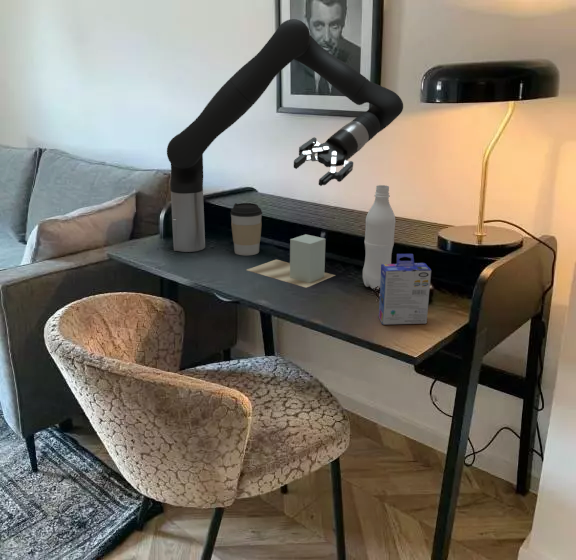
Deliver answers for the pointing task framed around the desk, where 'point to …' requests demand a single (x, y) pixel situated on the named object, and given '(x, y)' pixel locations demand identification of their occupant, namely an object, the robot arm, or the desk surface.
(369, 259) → the water bottle
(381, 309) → the ink cartridge box
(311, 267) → the pale upright block
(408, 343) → the desk surface
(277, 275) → the oak board
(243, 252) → the coffee cup
